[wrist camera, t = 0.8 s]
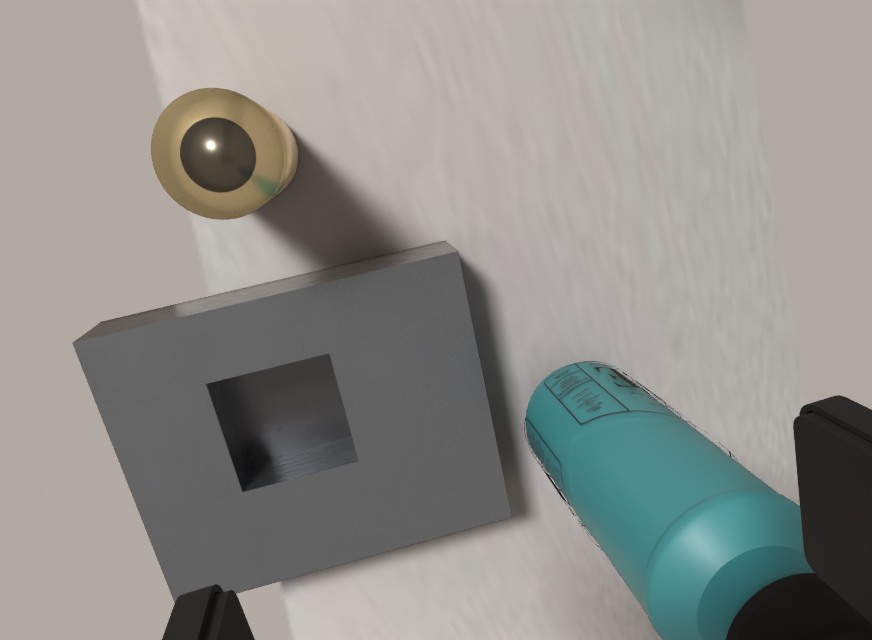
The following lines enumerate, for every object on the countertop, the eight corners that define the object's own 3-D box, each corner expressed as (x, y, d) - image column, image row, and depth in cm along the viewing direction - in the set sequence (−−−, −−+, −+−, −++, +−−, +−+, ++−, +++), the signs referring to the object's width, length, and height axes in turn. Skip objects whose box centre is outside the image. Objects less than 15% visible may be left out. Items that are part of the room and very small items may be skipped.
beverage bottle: (503, 453, 36) (698, 805, 16) (525, 339, 34) (768, 581, 15) (611, 461, 37) (911, 798, 18) (637, 351, 35) (996, 590, 16)
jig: (101, 321, 30) (72, 342, 27) (445, 240, 32) (457, 251, 29) (192, 565, 34) (177, 609, 31) (495, 482, 36) (511, 516, 33)
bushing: (192, 117, 29) (131, 102, 20) (284, 98, 29) (263, 75, 21) (220, 208, 30) (174, 232, 21) (308, 189, 30) (298, 204, 22)
